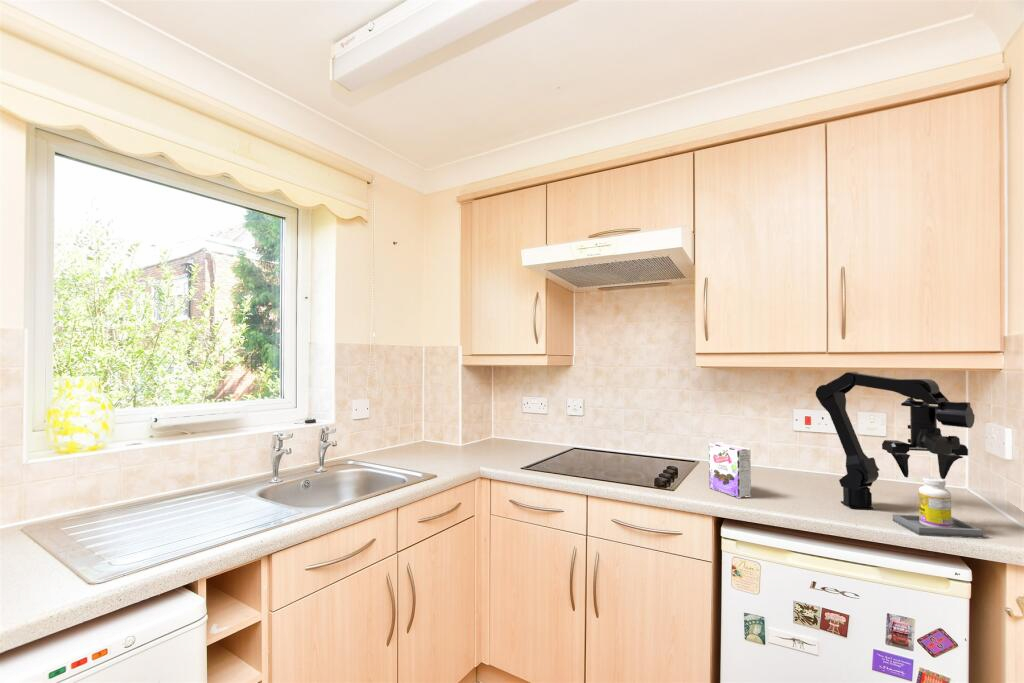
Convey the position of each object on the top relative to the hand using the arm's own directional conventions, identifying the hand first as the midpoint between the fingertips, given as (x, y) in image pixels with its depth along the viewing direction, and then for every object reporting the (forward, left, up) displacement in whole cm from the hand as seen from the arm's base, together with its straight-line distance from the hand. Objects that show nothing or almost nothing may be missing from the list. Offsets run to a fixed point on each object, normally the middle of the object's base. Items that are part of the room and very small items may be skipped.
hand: (924, 477), depth 136 cm
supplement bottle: (-1, -5, -12) cm, 13 cm away
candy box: (-46, +25, -13) cm, 54 cm away
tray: (-1, -5, -13) cm, 14 cm away
